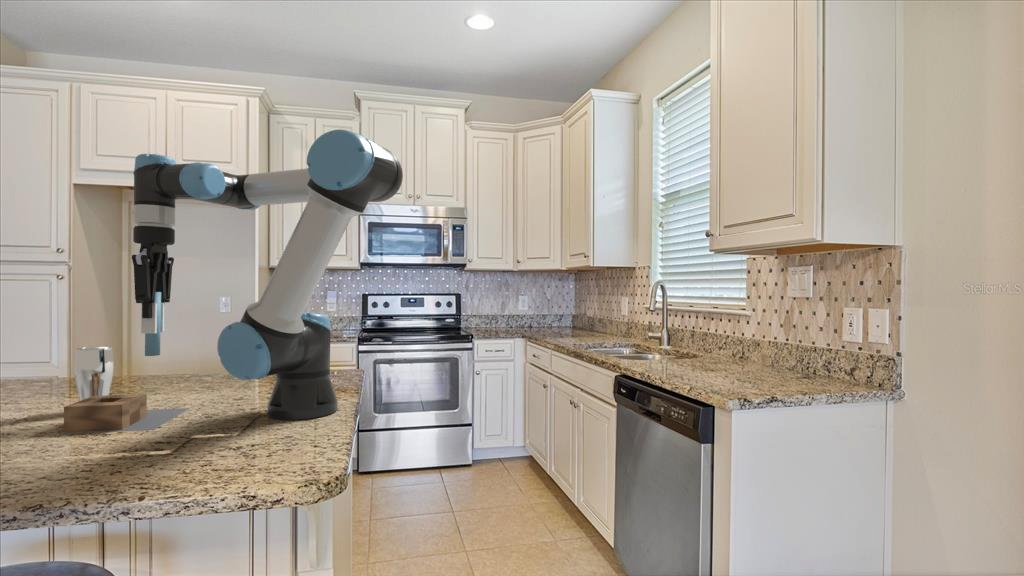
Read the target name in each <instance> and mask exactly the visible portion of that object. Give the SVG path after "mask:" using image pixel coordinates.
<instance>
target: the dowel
mask: <svg viewBox="0 0 1024 576" xmlns="http://www.w3.org/2000/svg"><path fill="white" fill-rule="evenodd" d="M152 304H157V333H144V357H145V356H146V357H156V356H160V355H161V333H162V332H161V292H156V293H155V302H154V303H152Z"/></svg>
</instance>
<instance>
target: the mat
mask: <svg viewBox="0 0 1024 576" xmlns="http://www.w3.org/2000/svg"><path fill="white" fill-rule="evenodd" d="M188 410H190V407H187V408H186V407H185V408H184V407H183V408H161V409H159V408H157V409H156V408H155V409H147V417H146V418H144V419H142V420H140V421H138V422H136V423H134V424H132V425H130V426H128V427H127V428H125V429H123V430H106V431H85V432H64V431H63V432H62V433H60V435H75V434H90V433H91V434H93V433H94V434H95V433H114V432H117V433H118V432H132V431H133V432H137V431H138V432H139V431H154V430H156V429H157V428H159V427H161V426H162V425H165V424H166V423H168V422H169V421H172V420H173V419H175V418H177V417H178V416H179V415H181V414H183V413H185V412H187V411H188Z"/></svg>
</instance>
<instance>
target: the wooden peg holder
mask: <svg viewBox="0 0 1024 576" xmlns="http://www.w3.org/2000/svg"><path fill="white" fill-rule="evenodd" d="M147 399H148V394H147V393H142V394H141V393H139V394H136V393H135V394H134V393H133V394H112V395H111V394H109V395H104V396H92V397H89V398H87V399H84V400H81V401H79V400H78V401H75V402H73V403H71V404H68V405H65V406H63V433H64V432H85V431H106V430H123V429H125V428H127V427H128V426H130V425H132V424H134V423H136V422H138V421H140V420H142V419H144V418H146V417H147V410H148V407H147V402H148V401H147Z"/></svg>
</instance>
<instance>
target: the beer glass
mask: <svg viewBox="0 0 1024 576" xmlns="http://www.w3.org/2000/svg"><path fill="white" fill-rule="evenodd" d="M113 349H114V348H113V346H110V345H107V346H105V345H104V346H103V345H102V346H101V345H100V346H98V345H96V346H86V347H85V346H83V347H77V348H75V354H74V363H73V373H74V380H75V383H76V384H75V385H76V389H77V393H78V401H81V400H84V399H87V398H89V397H92V396H104V395H110V391H111V385H112V381H113V375H114V371H115V370H114V369H115V368H114V366H115V363H114V353H113Z"/></svg>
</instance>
